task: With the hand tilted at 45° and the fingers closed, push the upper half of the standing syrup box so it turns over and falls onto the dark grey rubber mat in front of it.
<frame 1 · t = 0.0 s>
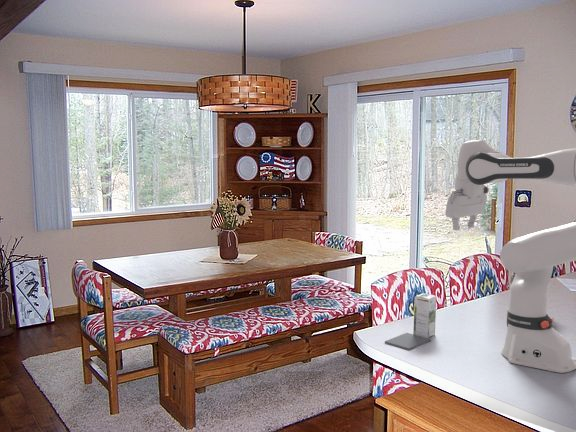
hand: (463, 228, 196), 39 cm above the kitchen counter, tool pointing down, fingers open, 8 cm apart
syrup box: (424, 335, 205), on the kitchen counter
mat: (408, 341, 198), on the kitchen counter
reusable coffee cup: (525, 314, 230), on the kitchen counter
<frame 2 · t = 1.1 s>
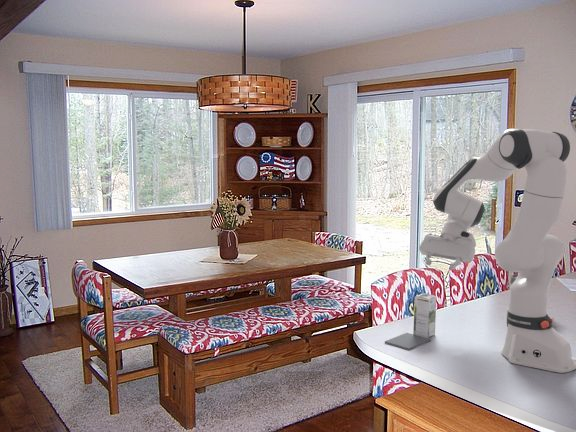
hand: (439, 266, 211), 23 cm above the kitchen counter, tool tilted 45°, fingers open, 8 cm apart
nothing on the kitchen counter moved.
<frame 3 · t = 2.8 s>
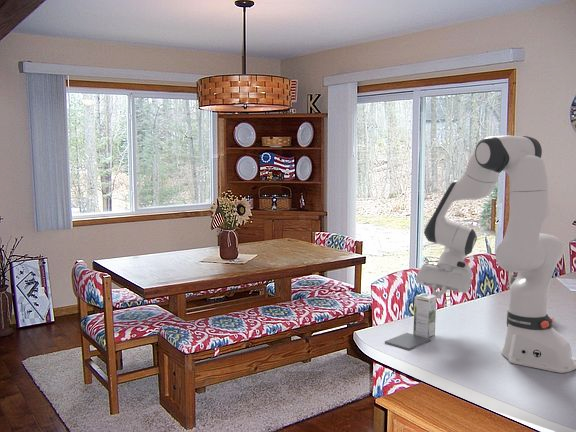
hand: (435, 297, 210), 12 cm above the kitchen counter, tool tilted 45°, fingers closed
nothing on the kitchen counter moved.
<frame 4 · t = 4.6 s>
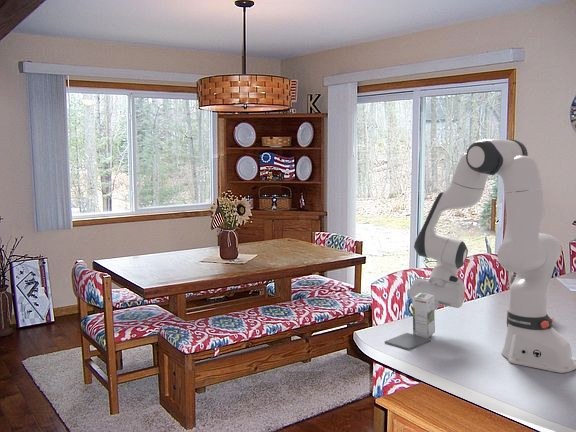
hand: (428, 312, 206), 8 cm above the kitchen counter, tool tilted 45°, fingers closed
syrup box: (424, 334, 205), on the kitchen counter, touching gripper
everything else where it was.
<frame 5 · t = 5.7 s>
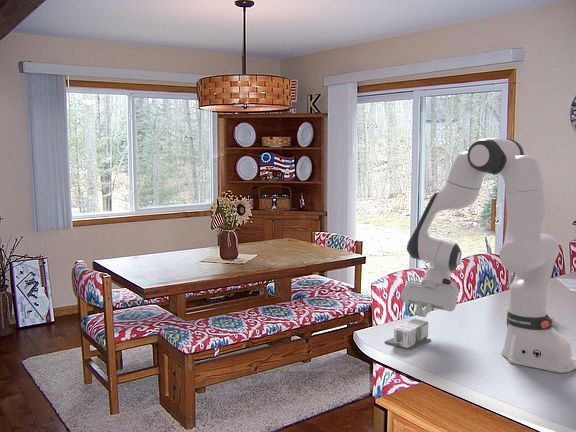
hand: (420, 315, 202), 8 cm above the kitchen counter, tool tilted 45°, fingers closed
syrup box: (421, 327, 203), point 3 cm above the kitchen counter, touching mat
everything else where it was.
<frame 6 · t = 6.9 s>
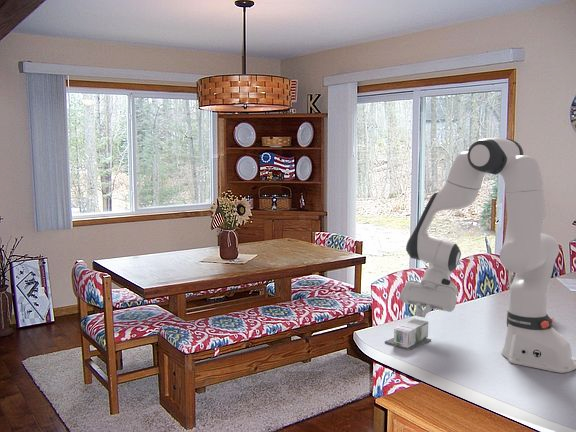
hand: (419, 316, 201), 8 cm above the kitchen counter, tool tilted 45°, fingers closed
nothing on the kitchen counter moved.
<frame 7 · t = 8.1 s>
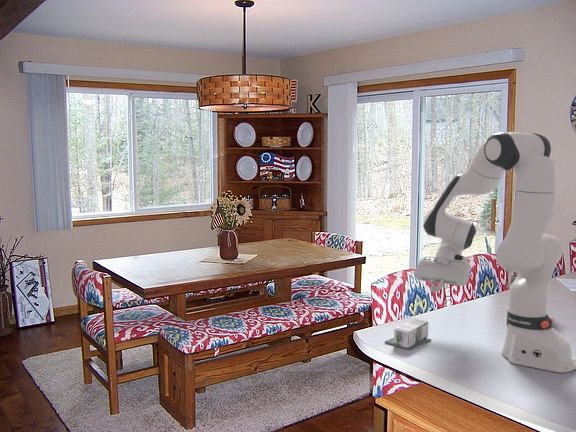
hand: (434, 291, 207), 15 cm above the kitchen counter, tool tilted 45°, fingers closed
nothing on the kitchen counter moved.
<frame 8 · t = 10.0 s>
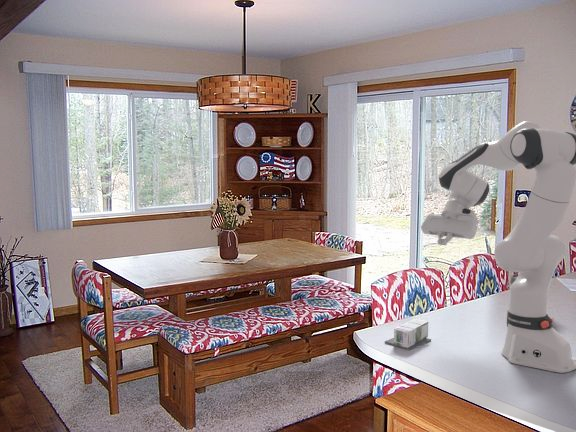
hand: (441, 244, 210), 31 cm above the kitchen counter, tool tilted 45°, fingers closed
nothing on the kitchen counter moved.
at the end: syrup box tilted 90°; syrup box inside the target area (7.5 cm from its centre), point 3.5 cm above the kitchen counter; the gripper is holding nothing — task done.
